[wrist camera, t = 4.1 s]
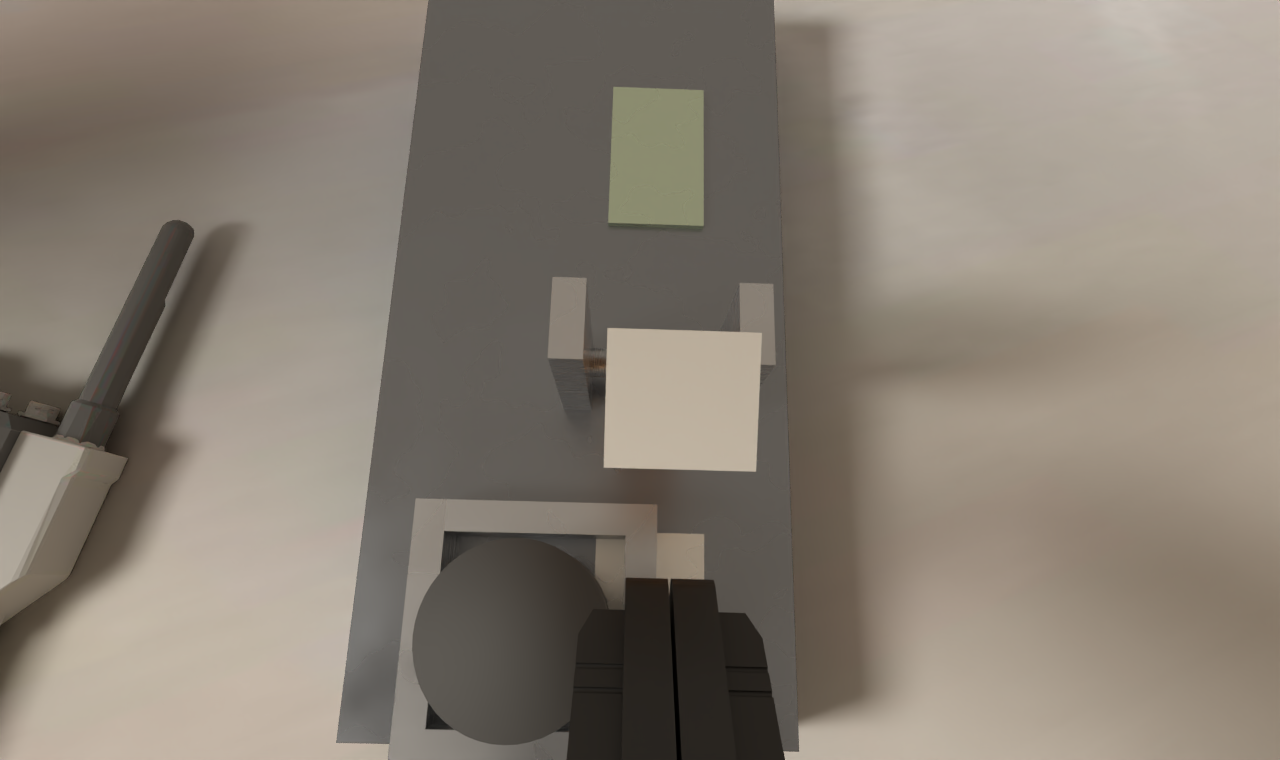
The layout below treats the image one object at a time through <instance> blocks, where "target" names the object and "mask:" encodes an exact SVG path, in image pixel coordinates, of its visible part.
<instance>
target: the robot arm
mask: <svg viewBox="0 0 1280 760" xmlns="http://www.w3.org/2000/svg"><path fill="white" fill-rule="evenodd" d="M566 760H785V757H784V752H783V747H782V741H781V736H780V730H779V725H778V720H777V714H776V709H775V703H774V698H773V697H772V687H771V682H770V676H769V673H768V665H767V660H766V655H765V649H764V644H763V638H762V637H761V635H760V634H759V632H758V631H757V629H756V628H755V626H754V625H753V624H752V622H751V621H750V619H749V618H748V616H747V615H746V613H729V612H719V611H718V603H717V595H716V587H715V582H714V580H707V579H672V578H671V581H670V590H669V584H668V579H664V578H629V577H626V580H625V604H624V610H612V609H593V610H592V612H591V613H590V615H589V617H588V618H587V620H586V622H585V623H584V625H583V627H582V628H581V630H580V632H579V633H578V642H577V652H576V665H575V674H574V684H573V695H572V706H571V717H570V727H569V738H568V749H567V759H566Z"/></svg>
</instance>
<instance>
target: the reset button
mask: <svg viewBox="0 0 1280 760" xmlns="http://www.w3.org/2000/svg"><path fill="white" fill-rule="evenodd" d="M593 609H609V608H608V605H607V601H606V598H605V596H604V593H603V591H602V589H601V587H600V585H599V584H598V582H597V580H596V579H595V577H594V576H593V575H592V574H591V572H590V571H589V570H588V569H587V568H586V567H585V566H584V565H583V564H582V563H581V562H579V561H578V560H576V559H575V558H574V557H572V556H571V555H569V554H567V553H565V552H564V551H562V550H560V549H558V548H556V547H555V546H552V545H550V544H547V543H544V542H542V541H537V540H533V539H526V538H504V539H498V540H493V541H490V542H486V543H483V544H480V545H478V546H476V547H474V548H472V549H469V550H468V551H466V552H465V553H463V554H461V555H460V556H458V557H457V558H456V559H454V560H453V561H452V562H451V563H450V564H448V565H447V566H446V567H445V568H444V569H443V570H442V572H441V573H440V574H439V575H438V576H437V577H436V579H435V580H434V581H433V583H432V584H431V585H430V587H429V589H428V591H427V592H426V594H425V596H424V598H423V600H422V602H421V605H420V607H419V610H418V613H417V617H416V620H415V624H414V630H413V639H412V654H413V664H414V668H415V673H416V677H417V680H418V683H419V685H420V688H421V690H422V692H423V694H424V696H425V698H426V700H427V701H428V703H429V704H430V706H431V707H432V709H433V710H434V711H435V712H436V714H437V715H438V716H439V717H440V718H441V719H442V720H443V721H444V722H445V723H447V724H448V725H449V726H450V727H452V728H453V729H454V730H456V731H458V732H459V733H461V734H463V735H464V736H467V737H469V738H472V739H474V740H476V741H480V742H484V743H488V744H495V745H518V744H523V743H528V742H532V741H535V740H538V739H541V738H544V737H545V736H547V735H549V734H551V733H553V732H555V731H557V730H558V729H560V728H561V727H563V726H564V725H566V724H567V723H568V722H569V721H570V717H571V706H572V695H573V684H574V674H575V665H576V652H577V642H578V633H579V632H580V630H581V628H582V627H583V625H584V623H585V622H586V620H587V618H588V617H589V615H590V613H591V612H592V610H593Z"/></svg>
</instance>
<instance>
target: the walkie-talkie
mask: <svg viewBox="0 0 1280 760" xmlns="http://www.w3.org/2000/svg"><path fill="white" fill-rule="evenodd" d="M193 237H194V230H193V228H192V227H191V226H190V225H189V224H187V223H185V222H183V221H180V220H173V221H170V222H167V223H166V224H164V225H163V226H162V228H161V230H160V232H159V234H158V237H157V239H156V241H155V243H154V245H153V247H152V249H151V251H150V253H149V255H148V257H147V259H146V261H145V263H144V265H143V267H142V269H141V272H140V274H139V276H138V278H137V280H136V282H135V284H134V286H133V288H132V290H131V292H130V294H129V296H128V298H127V300H126V302H125V304H124V307H123V309H122V311H121V313H120V315H119V317H118V319H117V321H116V323H115V325H114V327H113V329H112V331H111V333H110V335H109V337H108V340H107V342H106V344H105V346H104V348H103V350H102V352H101V354H100V356H99V358H98V360H97V362H96V364H95V366H94V368H93V370H92V372H91V375H90V377H89V379H88V381H87V383H86V385H85V387H84V389H83V391H82V393H81V395H80V397H79V399H77V400H74V401H72V402H71V404H70V406H69V408H68V410H67V412H66V414H65V416H64V418H63V420H62V422H58V421H55V420H56V418H57V416H58V414H59V412H60V408H56V407H53V406H49V405H46V404H42V403H39V402H35V401H30V402H29V404H28V406H27V408H26V410H25V412H21V411H18V413H17V414H18V415H20V416H16V415H13V414H9V413H6V411H7V412H10V411H11V408H7V404H8V402H9V399H10V397H11V394H8V393H4V392H1V391H0V626H1V625H2V624H3V623H5V622H6V621H7V620H9V619H10V618H12V617H13V616H15V615H16V614H17V613H19V612H20V611H22V610H23V609H25V608H26V607H27V606H29V605H30V604H32V603H33V602H35V601H36V600H37V599H39V598H40V597H42V596H43V595H45V594H46V593H48V592H49V591H50V590H52V589H53V588H55V587H56V586H58V585H59V584H60V583H62V582H63V581H65V580H66V579H67V578H68V576H69V575H70V573H71V571H72V569H73V567H74V565H75V562H76V560H77V558H78V556H79V554H80V552H81V549H82V547H83V545H84V543H85V541H86V539H87V536H88V534H89V532H90V530H91V528H92V525H93V523H94V521H95V519H96V517H97V515H98V512H99V510H100V508H101V506H102V504H103V502H104V499H105V497H106V495H107V493H108V491H109V489H110V486H111V484H113V483H114V482H115V481H117V480H118V479H119V478H120V475H121V473H122V471H123V469H124V466H125V464H126V462H127V460H128V458H126V457H123V456H119V455H116V454H112V453H109V452H105V445H106V443H107V441H108V439H109V436H110V434H111V432H112V430H113V428H114V426H115V424H116V421H117V419H118V417H119V413H118V412H117V410H116V409H117V407H118V405H119V403H120V401H121V398H122V396H123V394H124V392H125V390H126V388H127V386H128V384H129V381H130V379H131V377H132V375H133V373H134V371H135V369H136V367H137V365H138V362H139V360H140V358H141V356H142V354H143V352H144V350H145V348H146V345H147V343H148V341H149V339H150V337H151V335H152V333H153V331H154V329H155V326H156V324H157V322H158V320H159V318H160V316H161V314H162V312H163V309H164V307H165V298H166V296H167V294H168V292H169V289H170V287H171V285H172V283H173V281H174V278H175V276H176V274H177V272H178V270H179V268H180V265H181V263H182V261H183V259H184V257H185V255H186V252H187V250H188V248H189V246H190V244H191V242H192V239H193ZM60 423H61V424H60ZM56 425H60V426H59V427H56Z"/></svg>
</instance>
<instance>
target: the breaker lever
mask: <svg viewBox="0 0 1280 760" xmlns="http://www.w3.org/2000/svg"><path fill="white" fill-rule="evenodd" d="M761 344H762V333H754V332H727V331H695V330H662V329H630V328H607V361H606V397H605V434H604V468H638V469H676V470H713V471H750V472H756V460H757V437H758V414H759V391H760V367H761Z"/></svg>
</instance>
